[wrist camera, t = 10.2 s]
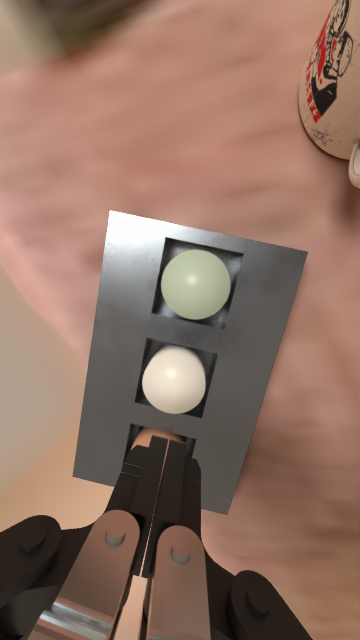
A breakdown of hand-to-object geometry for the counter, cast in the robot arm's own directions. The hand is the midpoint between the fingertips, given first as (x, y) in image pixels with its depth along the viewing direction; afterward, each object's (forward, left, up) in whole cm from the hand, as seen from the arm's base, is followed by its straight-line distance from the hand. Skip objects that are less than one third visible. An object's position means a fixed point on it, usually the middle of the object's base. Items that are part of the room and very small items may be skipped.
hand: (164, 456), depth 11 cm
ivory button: (0, 0, -11) cm, 11 cm away
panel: (0, 0, -11) cm, 11 cm away
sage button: (-7, 0, -11) cm, 13 cm away
